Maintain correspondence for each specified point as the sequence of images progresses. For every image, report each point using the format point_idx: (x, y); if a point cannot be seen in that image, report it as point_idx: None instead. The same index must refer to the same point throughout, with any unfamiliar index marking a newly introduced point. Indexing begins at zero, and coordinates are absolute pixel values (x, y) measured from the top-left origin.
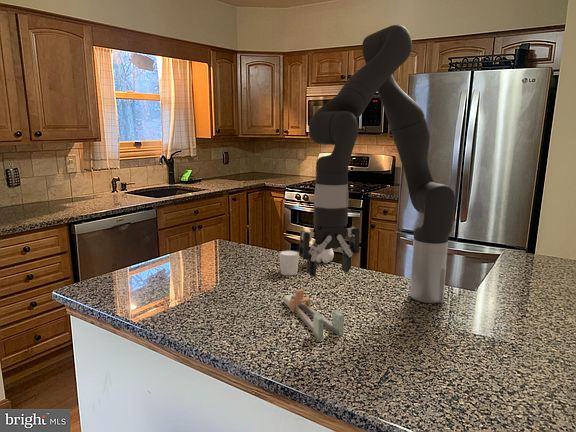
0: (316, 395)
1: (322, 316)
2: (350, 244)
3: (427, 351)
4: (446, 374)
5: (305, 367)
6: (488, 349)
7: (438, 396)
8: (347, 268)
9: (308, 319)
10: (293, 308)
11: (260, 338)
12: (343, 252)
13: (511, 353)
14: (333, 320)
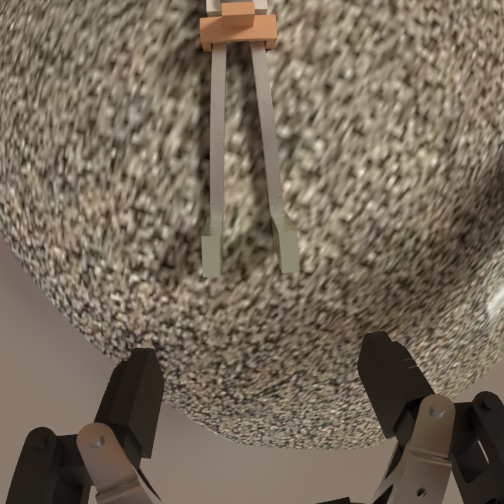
0: None
1: (274, 141)
2: (483, 445)
3: None
4: (359, 394)
5: (148, 336)
6: (458, 350)
7: (309, 422)
8: (368, 386)
9: (218, 148)
10: (206, 48)
11: (73, 197)
12: (414, 425)
13: (465, 360)
14: (275, 228)
